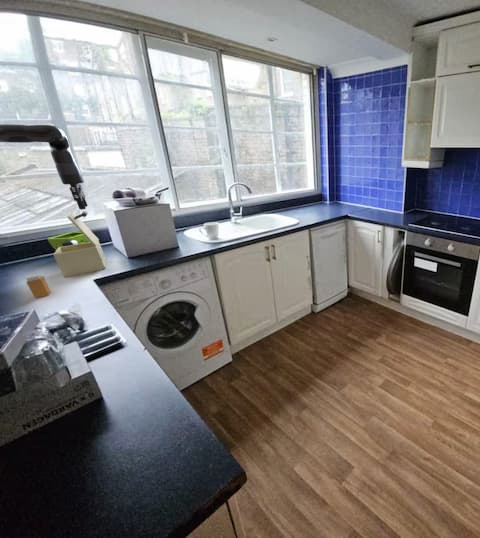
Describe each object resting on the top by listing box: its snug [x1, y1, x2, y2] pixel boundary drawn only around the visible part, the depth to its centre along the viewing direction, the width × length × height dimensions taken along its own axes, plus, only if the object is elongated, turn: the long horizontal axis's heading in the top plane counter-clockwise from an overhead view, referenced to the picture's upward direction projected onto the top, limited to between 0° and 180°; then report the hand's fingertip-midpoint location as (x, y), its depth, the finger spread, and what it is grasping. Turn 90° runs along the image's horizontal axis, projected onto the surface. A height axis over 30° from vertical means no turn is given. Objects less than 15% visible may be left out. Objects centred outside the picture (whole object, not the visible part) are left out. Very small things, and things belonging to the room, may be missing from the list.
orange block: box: [25, 273, 52, 299], centre depth 122 cm, size 4×4×9 cm
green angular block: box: [47, 231, 90, 251], centre depth 167 cm, size 14×14×13 cm
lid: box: [67, 211, 100, 246], centre depth 146 cm, size 16×14×6 cm
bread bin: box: [53, 241, 108, 278], centre depth 148 cm, size 16×14×12 cm
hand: (83, 207), depth 142 cm, fingers open, 8 cm apart
